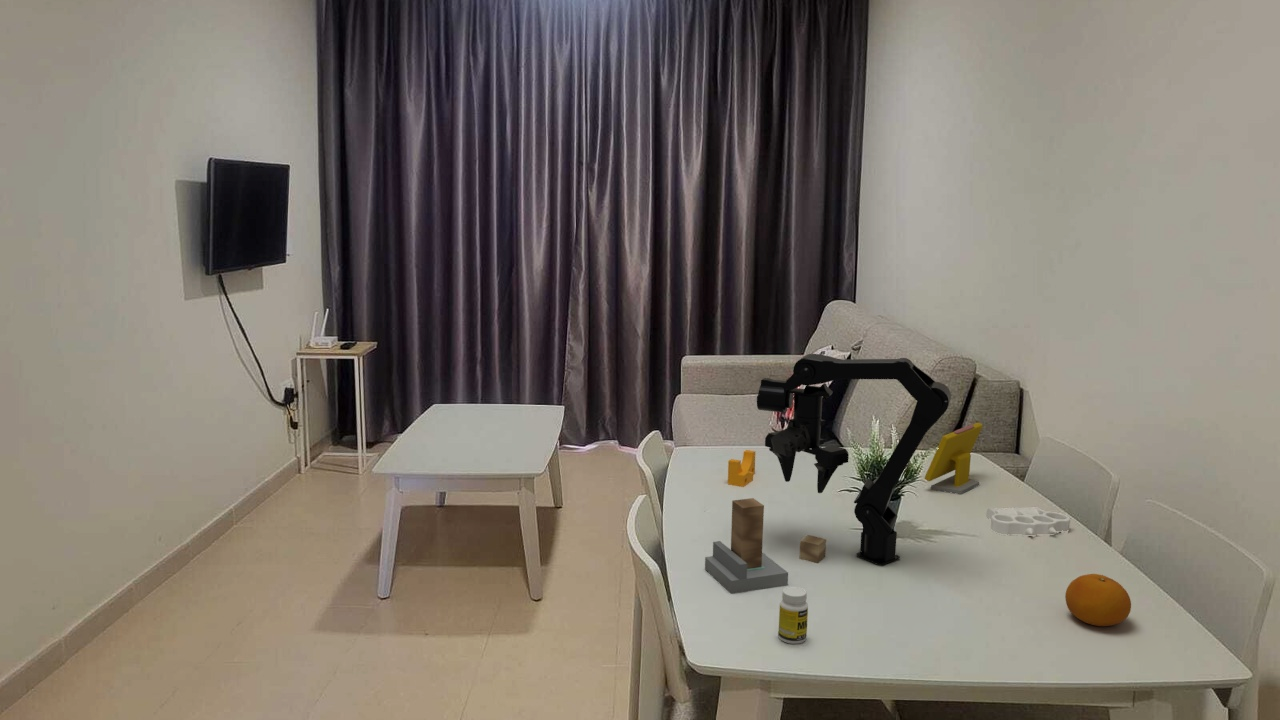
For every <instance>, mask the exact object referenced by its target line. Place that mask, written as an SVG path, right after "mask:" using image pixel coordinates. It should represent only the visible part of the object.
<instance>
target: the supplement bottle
mask: <svg viewBox="0 0 1280 720" xmlns="http://www.w3.org/2000/svg"><path fill="white" fill-rule="evenodd" d="M807 596H808V595H807V591H806V590H805V589H804V588H802V587H799V586H787V587H784V588H783V589H782V595H781V598H782V599H781V600H780V602H779V612H778V613H779V615H778V633H777V634H778V635H777V636H778V638H779V640H781V641H782V642H784V643H787V644H794V645H797V644H802V643H804V642H805V641H806V640H807V636H808V635H807V634H808V633H807V632H808V615H809V605H808V602H807V598H808V597H807Z"/></svg>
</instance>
